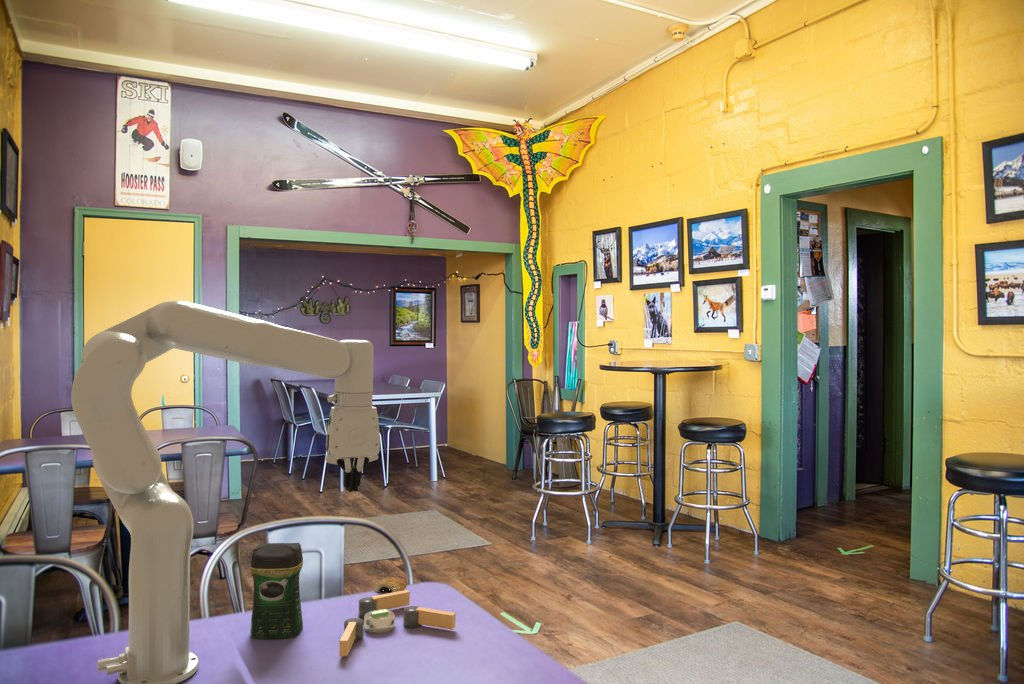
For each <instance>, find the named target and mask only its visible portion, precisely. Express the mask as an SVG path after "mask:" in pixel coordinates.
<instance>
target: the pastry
mask: <svg viewBox="0 0 1024 684" xmlns="http://www.w3.org/2000/svg"><path fill="white" fill-rule="evenodd" d="M407 585H408V582H407V580H406V579H405V578H402V577H399V576H392V577H391V576H390V577H386V578H382V579H381V580H380V581H377V583H376V584H375V586H374V587H375V588H374V590H373V592H374V593H393V592H398V591H403V590H406V588H407ZM399 587H400V588H399ZM393 588H396V589H393ZM389 589H390V590H389ZM383 590H384V591H383ZM378 591H380V592H378Z"/></svg>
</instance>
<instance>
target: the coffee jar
mask: <svg viewBox="0 0 1024 684" xmlns="http://www.w3.org/2000/svg"><path fill="white" fill-rule="evenodd" d="M301 545H302V544H301V543H300V542H271V543H265V542H262V543H261V542H260V543H258V544H257V545H256V546H255V547H254V548H253V550H252V554H251V558H250V559H251V560H250V566H249V570H250V573H251V576H252V579H253V598H252V599H253V601H252V609H251V610H252V612H251V620H250V631H249V636H250V638H252V639H254V640H259V641H260V640H261V641H276V640H278V641H279V640H280V641H281V640H289V639H294V638H296V637H298V636H299V635H300V634H301V633H302V631H303V630H304V629H303V627H304V623H303V611H302V604H301V602H302V601H301V594H300V573H301V571H302V568H303V565H304V558H303V549H302V546H301Z"/></svg>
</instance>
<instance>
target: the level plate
mask: <svg viewBox="0 0 1024 684" xmlns="http://www.w3.org/2000/svg"><path fill="white" fill-rule="evenodd" d="M395 623H396V614H395V613H394V612H393V611H391V610H390V609H384V610H374V611H370V612H368V613H366V614H365V615H364V618H363V630H364V631H366V632H367V633H370V634H384V633H389V632H391V631H393V630H394V629H395V628H396V627H395V626H396V624H395Z"/></svg>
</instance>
